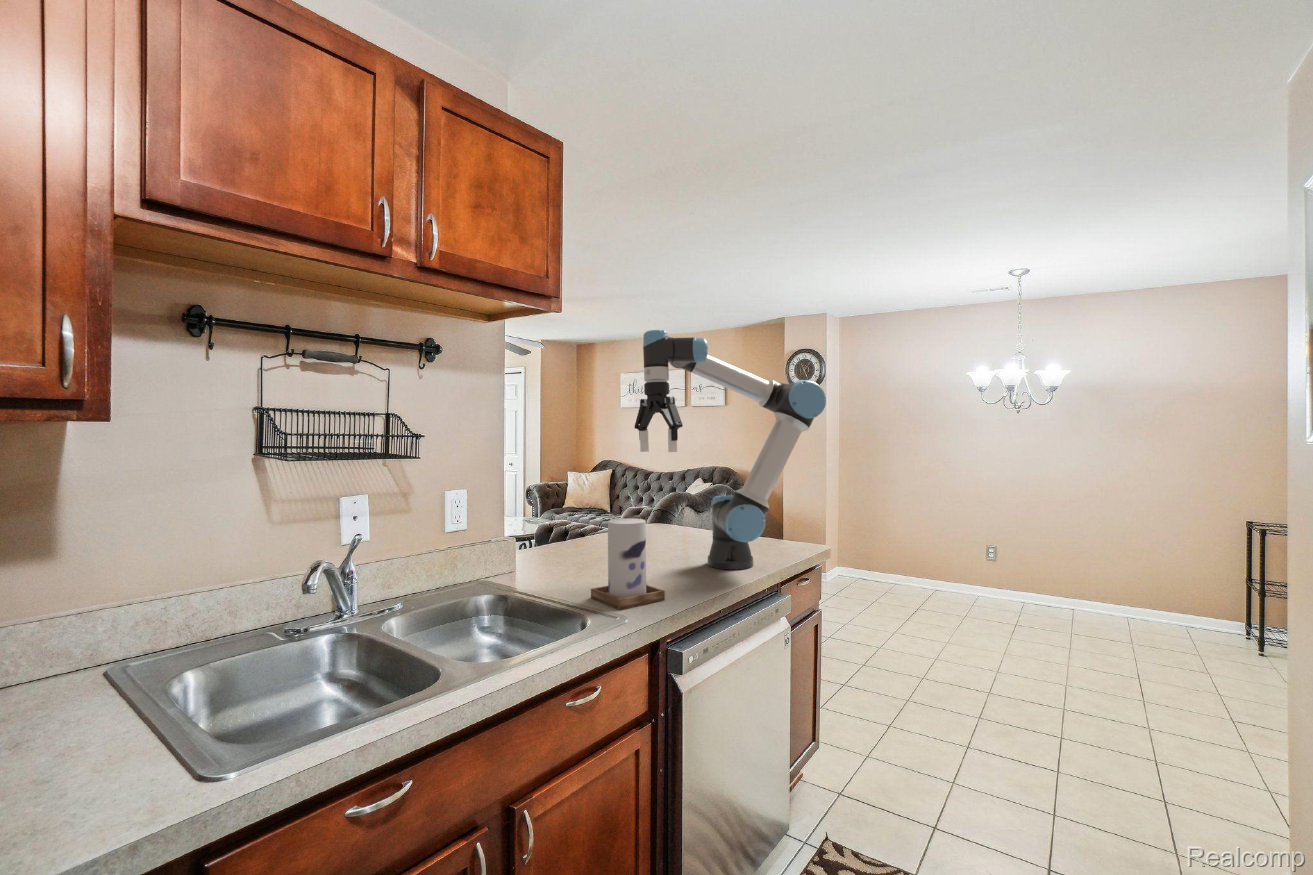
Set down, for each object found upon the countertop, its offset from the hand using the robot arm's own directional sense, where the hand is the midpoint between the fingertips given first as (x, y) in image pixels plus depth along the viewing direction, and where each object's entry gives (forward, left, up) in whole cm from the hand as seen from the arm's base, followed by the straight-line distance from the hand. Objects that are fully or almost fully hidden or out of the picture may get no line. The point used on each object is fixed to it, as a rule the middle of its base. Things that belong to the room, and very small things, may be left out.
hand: (658, 452), depth 181 cm
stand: (+21, +14, -38) cm, 46 cm away
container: (+21, +14, -38) cm, 45 cm away
